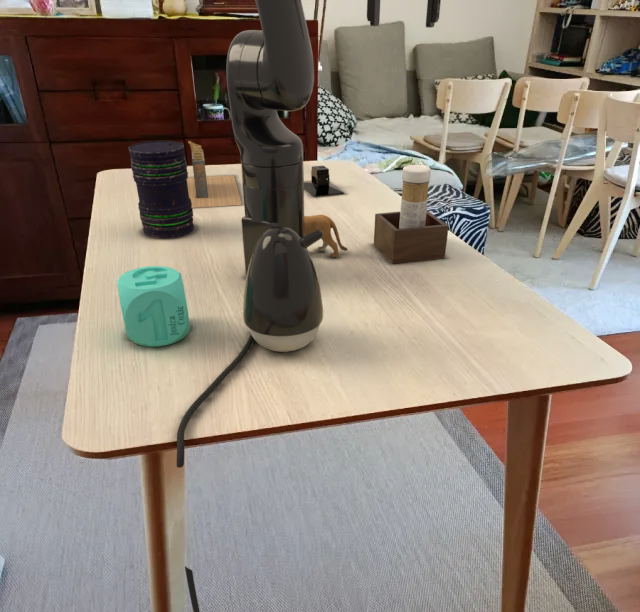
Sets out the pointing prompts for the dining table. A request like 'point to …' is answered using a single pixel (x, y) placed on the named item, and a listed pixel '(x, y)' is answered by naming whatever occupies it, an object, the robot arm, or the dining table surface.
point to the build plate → (321, 183)
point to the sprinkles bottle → (414, 196)
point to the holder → (410, 238)
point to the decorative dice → (153, 306)
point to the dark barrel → (162, 188)
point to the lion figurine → (324, 232)
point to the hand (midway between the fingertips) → (401, 26)
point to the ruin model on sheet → (199, 171)
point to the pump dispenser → (283, 291)
